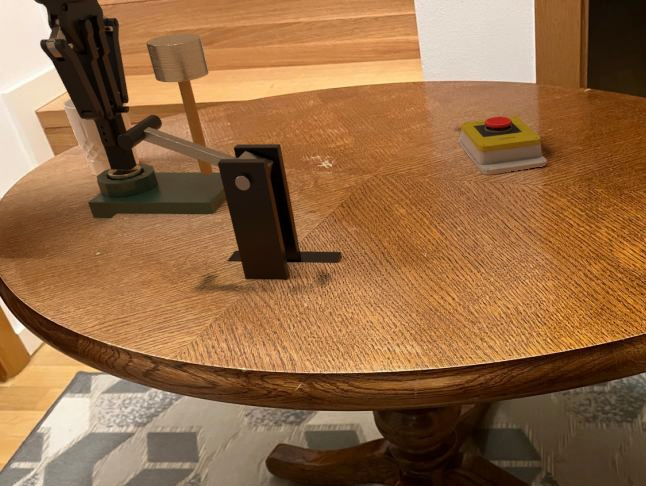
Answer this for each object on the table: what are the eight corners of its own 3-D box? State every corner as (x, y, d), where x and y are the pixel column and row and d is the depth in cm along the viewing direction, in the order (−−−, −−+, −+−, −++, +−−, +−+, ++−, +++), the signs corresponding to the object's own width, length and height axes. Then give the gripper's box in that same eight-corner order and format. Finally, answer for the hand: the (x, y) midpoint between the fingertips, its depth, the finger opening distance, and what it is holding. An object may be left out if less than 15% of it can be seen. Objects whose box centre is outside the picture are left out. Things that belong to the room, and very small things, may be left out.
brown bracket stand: (205, 301, 74) (168, 170, 66) (237, 259, 81) (207, 137, 73) (320, 304, 72) (297, 170, 65) (342, 261, 80) (324, 136, 72)
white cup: (85, 166, 108) (61, 97, 103) (140, 155, 111) (120, 88, 106) (89, 183, 103) (64, 111, 97) (147, 171, 105) (126, 101, 100)
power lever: (116, 151, 67) (117, 127, 66) (146, 130, 72) (148, 107, 71) (255, 199, 68) (259, 176, 67) (275, 175, 73) (279, 153, 72)
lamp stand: (174, 182, 90) (136, 46, 81) (194, 164, 95) (160, 34, 86) (220, 182, 90) (187, 44, 81) (238, 164, 95) (208, 33, 86)
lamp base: (90, 218, 92) (79, 188, 90) (128, 187, 101) (119, 159, 98) (214, 219, 90) (206, 188, 88) (242, 187, 99) (236, 159, 96)
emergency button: (515, 104, 110) (550, 134, 98) (515, 133, 112) (549, 166, 100) (455, 111, 108) (483, 143, 96) (456, 140, 110) (483, 175, 98)
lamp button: (106, 188, 93) (101, 175, 92) (121, 176, 96) (117, 163, 95) (135, 188, 93) (131, 175, 92) (149, 176, 96) (146, 163, 95)
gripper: (57, -32, 74) (126, 187, 88) (120, -48, 85) (173, 149, 98) (-11, -30, 75) (68, 187, 89) (60, -46, 86) (121, 149, 99)
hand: (124, 167), depth 93 cm, fingers closed
